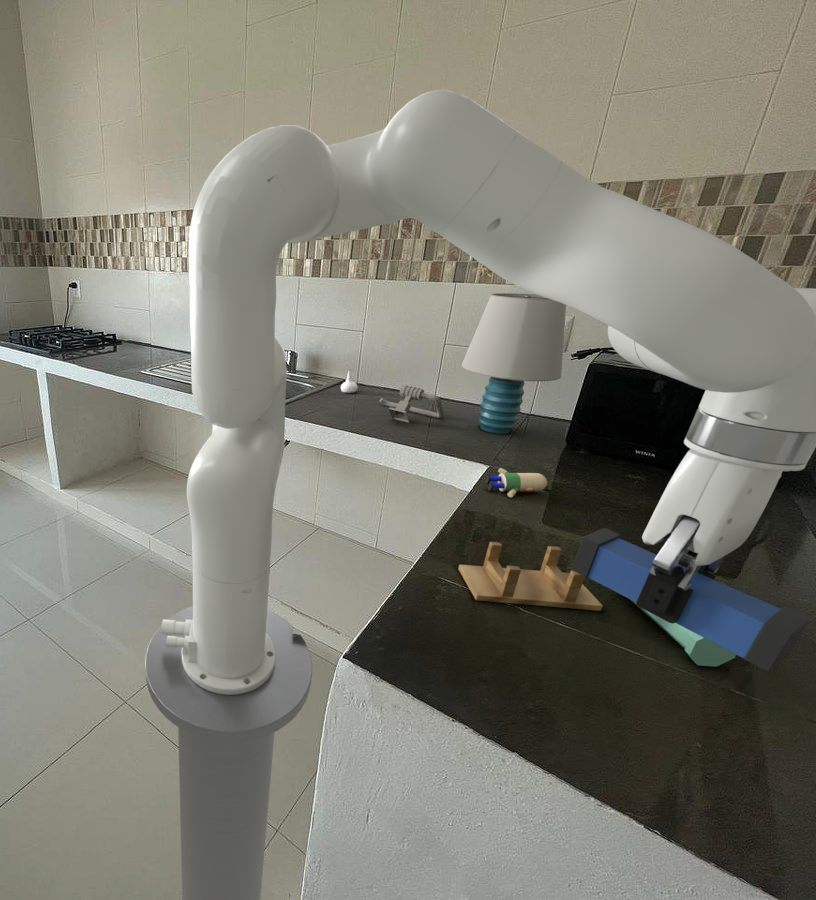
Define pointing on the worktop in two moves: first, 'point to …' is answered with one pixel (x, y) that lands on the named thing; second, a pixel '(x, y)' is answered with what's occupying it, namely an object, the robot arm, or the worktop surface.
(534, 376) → the lamp
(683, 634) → the mint octagonal rod
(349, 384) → the garlic bulb
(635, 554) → the handle
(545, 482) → the toy figurine
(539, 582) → the holder
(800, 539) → the worktop surface
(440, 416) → the toilet paper hanger
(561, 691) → the worktop surface
